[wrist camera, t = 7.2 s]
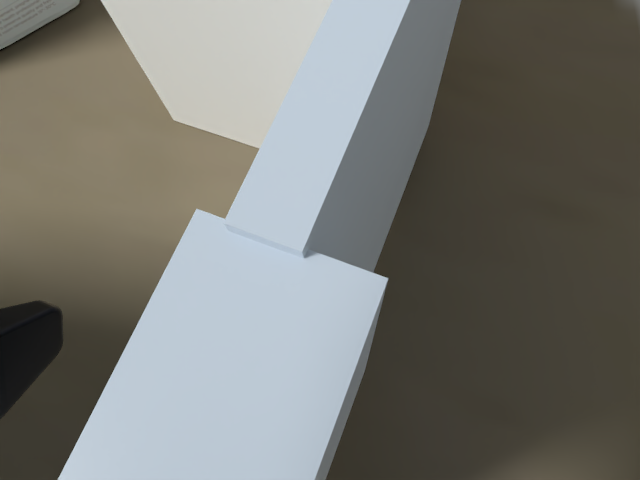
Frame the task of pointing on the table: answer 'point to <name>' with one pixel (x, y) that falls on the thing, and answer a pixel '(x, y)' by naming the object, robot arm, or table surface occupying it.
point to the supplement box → (28, 16)
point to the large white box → (220, 57)
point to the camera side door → (280, 272)
